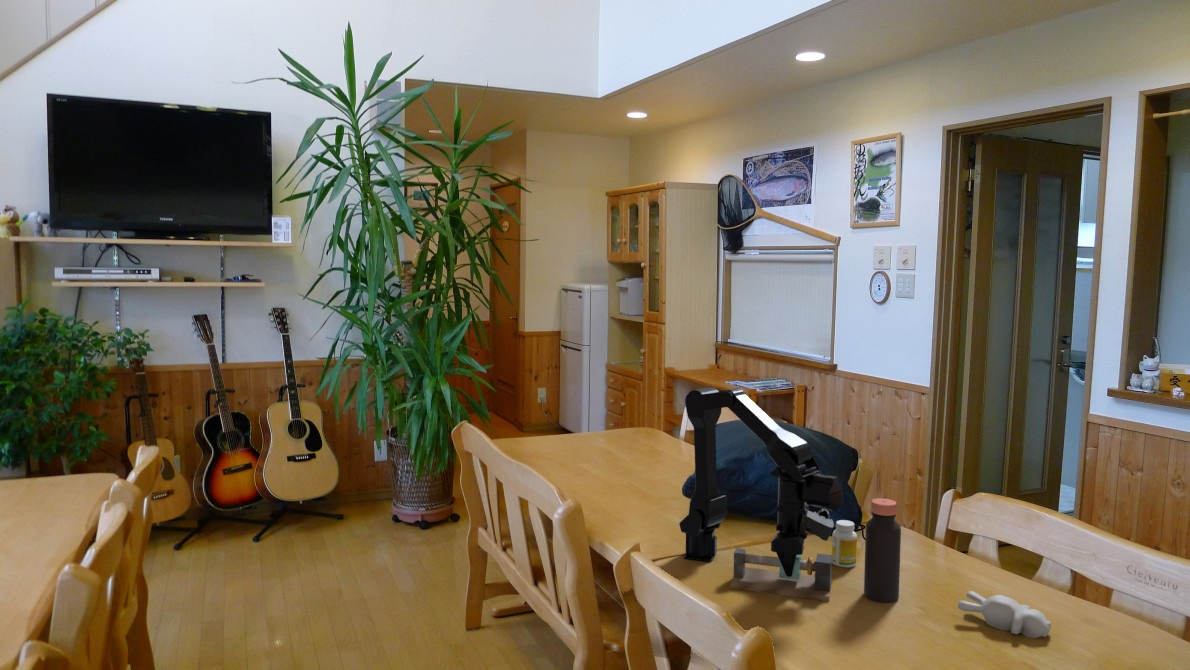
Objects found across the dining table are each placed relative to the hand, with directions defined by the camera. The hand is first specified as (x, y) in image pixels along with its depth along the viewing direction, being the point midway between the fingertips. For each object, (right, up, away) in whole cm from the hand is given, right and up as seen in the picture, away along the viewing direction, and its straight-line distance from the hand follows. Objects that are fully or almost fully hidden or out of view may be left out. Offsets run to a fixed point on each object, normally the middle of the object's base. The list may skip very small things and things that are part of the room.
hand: (790, 571), depth 169 cm
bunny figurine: (+36, -5, -18) cm, 41 cm away
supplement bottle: (+15, -2, +13) cm, 20 cm away
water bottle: (+17, -4, -5) cm, 19 cm away
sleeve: (0, -1, 0) cm, 1 cm away
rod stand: (-2, -3, +1) cm, 4 cm away
